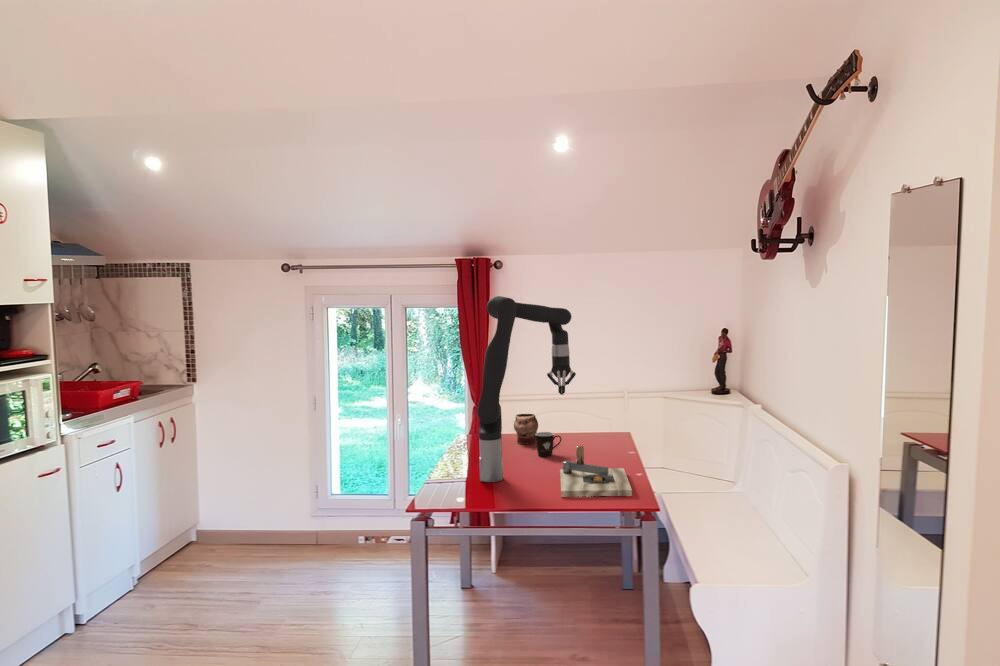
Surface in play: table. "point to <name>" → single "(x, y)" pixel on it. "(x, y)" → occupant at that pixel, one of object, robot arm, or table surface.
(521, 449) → the table surface
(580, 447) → the catapult lever
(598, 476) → the ball
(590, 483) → the board
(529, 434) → the decorative planter
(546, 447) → the coffee mug
